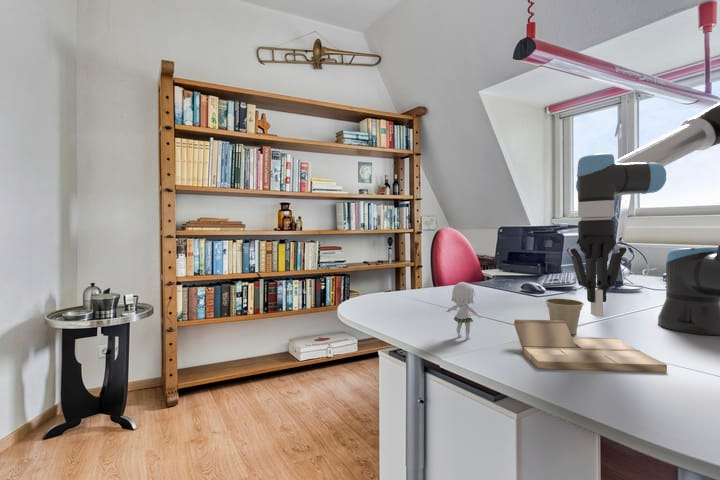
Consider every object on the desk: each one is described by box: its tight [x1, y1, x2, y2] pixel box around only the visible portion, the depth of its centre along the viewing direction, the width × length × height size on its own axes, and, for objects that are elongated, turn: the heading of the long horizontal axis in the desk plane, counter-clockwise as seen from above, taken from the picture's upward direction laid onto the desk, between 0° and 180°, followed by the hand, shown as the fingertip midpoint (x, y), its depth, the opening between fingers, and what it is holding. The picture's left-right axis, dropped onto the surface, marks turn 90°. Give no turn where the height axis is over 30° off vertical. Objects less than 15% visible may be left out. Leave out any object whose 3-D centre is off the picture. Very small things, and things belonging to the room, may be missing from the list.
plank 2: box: [572, 336, 637, 350], centre depth 90 cm, size 12×8×2 cm
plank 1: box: [513, 319, 577, 351], centre depth 90 cm, size 12×8×2 cm
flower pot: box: [545, 297, 585, 336], centre depth 104 cm, size 9×9×9 cm
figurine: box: [445, 281, 482, 340], centre depth 99 cm, size 10×6×15 cm, turn 47°
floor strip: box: [523, 347, 668, 373], centre depth 81 cm, size 25×9×2 cm, turn 84°
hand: (596, 315), depth 92 cm, fingers closed
